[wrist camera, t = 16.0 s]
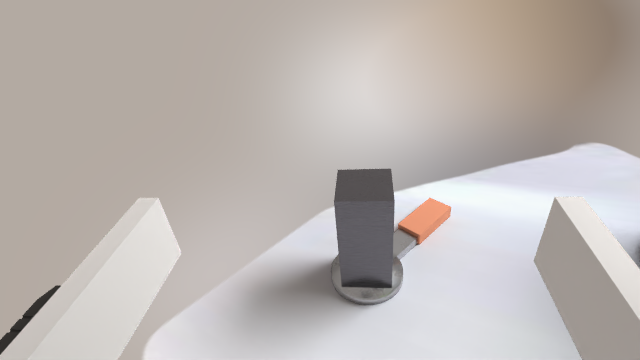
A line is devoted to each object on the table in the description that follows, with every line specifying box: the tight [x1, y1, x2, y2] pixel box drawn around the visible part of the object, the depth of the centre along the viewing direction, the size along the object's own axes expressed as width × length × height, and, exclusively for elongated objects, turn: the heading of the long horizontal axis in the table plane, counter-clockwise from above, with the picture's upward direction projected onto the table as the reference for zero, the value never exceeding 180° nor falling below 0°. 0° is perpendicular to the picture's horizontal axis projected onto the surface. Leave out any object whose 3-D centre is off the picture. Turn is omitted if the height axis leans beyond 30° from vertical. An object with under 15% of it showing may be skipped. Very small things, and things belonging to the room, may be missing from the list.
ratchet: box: [331, 198, 451, 305], centre depth 49 cm, size 22×9×4 cm, turn 133°
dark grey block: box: [334, 169, 394, 288], centre depth 42 cm, size 6×6×13 cm
